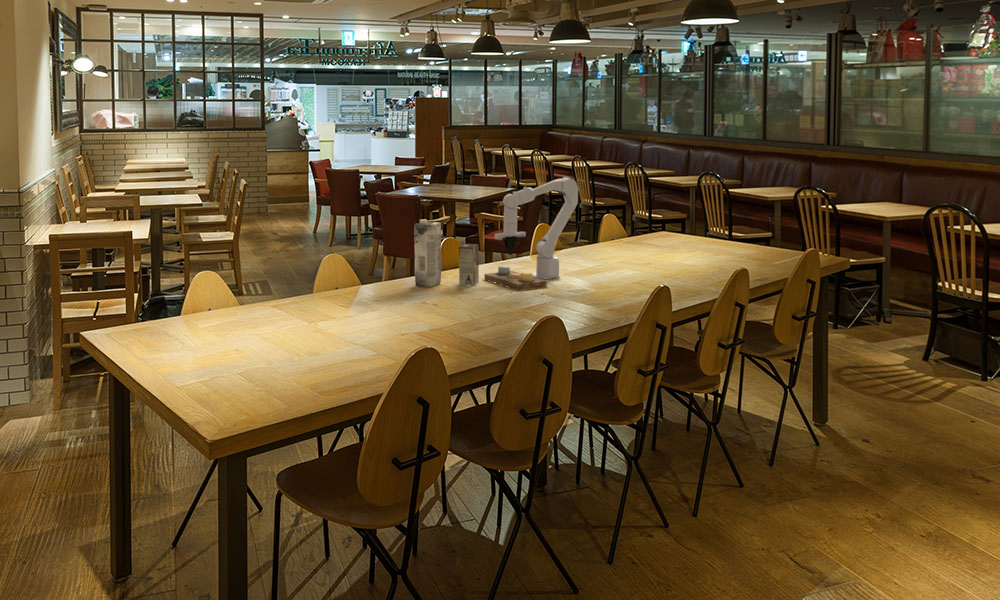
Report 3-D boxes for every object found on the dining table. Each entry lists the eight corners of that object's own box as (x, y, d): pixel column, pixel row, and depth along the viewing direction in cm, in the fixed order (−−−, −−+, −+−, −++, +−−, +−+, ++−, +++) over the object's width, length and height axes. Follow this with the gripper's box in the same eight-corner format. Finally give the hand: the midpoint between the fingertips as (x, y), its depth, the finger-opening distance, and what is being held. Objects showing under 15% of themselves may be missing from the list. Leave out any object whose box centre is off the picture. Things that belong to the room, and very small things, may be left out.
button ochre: (528, 279, 364) (528, 272, 363) (535, 281, 360) (535, 273, 359) (518, 281, 361) (518, 273, 360) (524, 283, 357) (525, 275, 356)
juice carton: (443, 283, 366) (443, 218, 360) (431, 288, 356) (430, 221, 351) (425, 281, 369) (424, 217, 364) (412, 286, 360) (411, 220, 354)
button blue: (505, 273, 378) (505, 265, 377) (512, 275, 374) (512, 267, 373) (495, 274, 375) (496, 266, 374) (502, 276, 371) (502, 268, 370)
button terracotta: (516, 280, 371) (516, 273, 370) (523, 282, 367) (523, 275, 366) (506, 281, 369) (506, 274, 368) (513, 283, 364) (513, 276, 364)
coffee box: (464, 281, 371) (464, 243, 368) (478, 281, 370) (479, 244, 367) (458, 285, 363) (458, 246, 359) (474, 286, 361) (474, 247, 358)
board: (511, 276, 382) (512, 270, 382) (546, 286, 361) (546, 280, 360) (484, 279, 375) (484, 273, 374) (518, 290, 354) (518, 284, 353)
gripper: (519, 220, 380) (518, 251, 383) (490, 222, 373) (490, 254, 375) (528, 222, 374) (527, 254, 377) (499, 224, 367) (499, 256, 370)
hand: (509, 254), depth 376 cm, fingers closed
